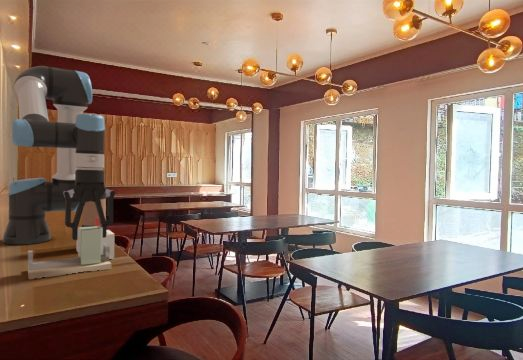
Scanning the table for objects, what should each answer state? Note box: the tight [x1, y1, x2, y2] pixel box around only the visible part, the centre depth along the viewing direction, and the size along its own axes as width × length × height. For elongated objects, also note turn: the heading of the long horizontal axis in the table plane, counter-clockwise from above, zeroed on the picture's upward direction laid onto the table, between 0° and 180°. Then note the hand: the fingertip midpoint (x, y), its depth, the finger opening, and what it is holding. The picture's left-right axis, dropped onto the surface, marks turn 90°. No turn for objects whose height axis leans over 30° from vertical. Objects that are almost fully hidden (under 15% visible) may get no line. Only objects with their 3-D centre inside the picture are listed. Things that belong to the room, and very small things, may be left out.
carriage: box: [77, 226, 101, 265], centre depth 106 cm, size 6×5×10 cm
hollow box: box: [101, 229, 115, 260], centre depth 117 cm, size 8×7×8 cm
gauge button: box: [95, 217, 101, 227], centre depth 117 cm, size 3×3×5 cm
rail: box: [27, 244, 112, 280], centre depth 104 cm, size 9×20×6 cm, turn 124°
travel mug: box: [81, 193, 107, 227], centre depth 129 cm, size 8×8×20 cm
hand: (89, 249), depth 106 cm, fingers closed on carriage, 5 cm apart
